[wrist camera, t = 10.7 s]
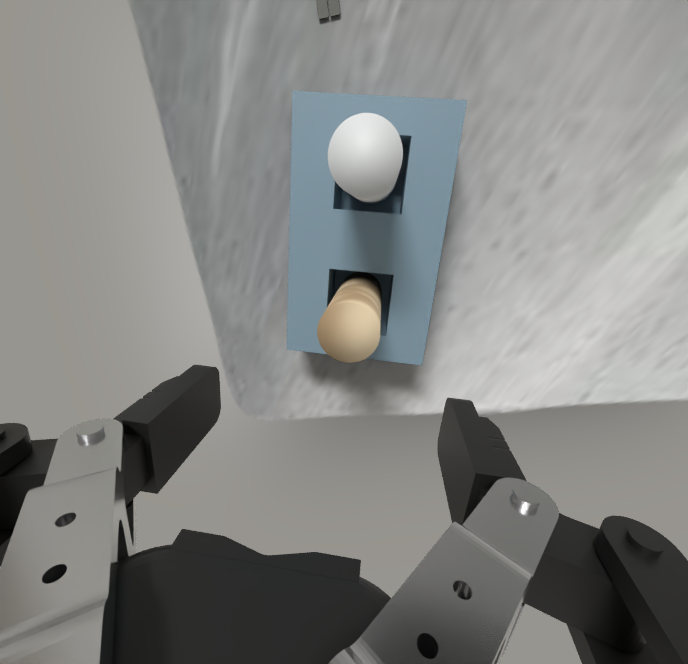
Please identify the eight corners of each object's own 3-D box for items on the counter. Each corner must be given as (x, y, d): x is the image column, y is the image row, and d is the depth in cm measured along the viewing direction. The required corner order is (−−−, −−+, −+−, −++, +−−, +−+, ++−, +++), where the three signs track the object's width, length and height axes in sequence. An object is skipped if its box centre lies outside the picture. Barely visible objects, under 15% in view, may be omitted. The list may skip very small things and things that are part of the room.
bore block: (452, 121, 25) (505, 46, 14) (416, 343, 31) (434, 413, 20) (309, 113, 26) (252, 36, 15) (300, 330, 32) (255, 390, 21)
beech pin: (383, 273, 29) (383, 306, 18) (379, 313, 30) (376, 366, 20) (342, 269, 29) (318, 299, 19) (339, 309, 30) (315, 358, 20)
